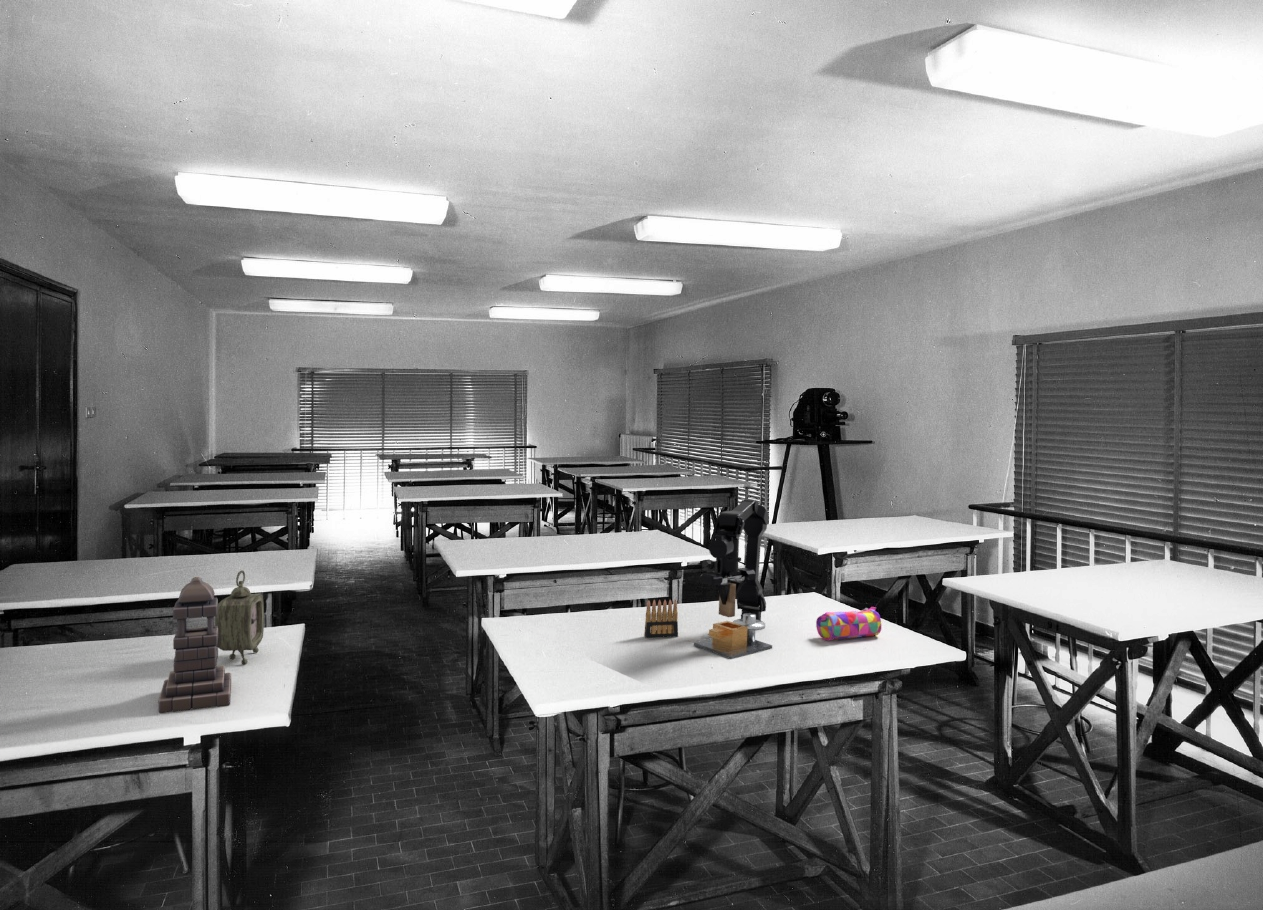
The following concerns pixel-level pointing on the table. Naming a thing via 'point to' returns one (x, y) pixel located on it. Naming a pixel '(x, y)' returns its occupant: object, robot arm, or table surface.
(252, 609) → the tabletop clock
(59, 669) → the table surface
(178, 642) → the miniature tower
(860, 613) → the pencil case
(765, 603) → the robot arm
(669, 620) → the ammunition clip
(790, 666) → the table surface
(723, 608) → the wedge
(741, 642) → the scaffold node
